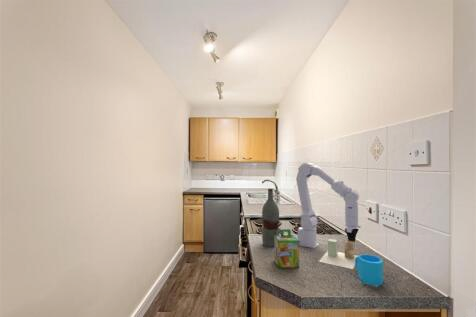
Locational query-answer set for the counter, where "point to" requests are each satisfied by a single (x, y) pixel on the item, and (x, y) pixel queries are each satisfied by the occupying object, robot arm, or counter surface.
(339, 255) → the mat
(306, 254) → the counter surface
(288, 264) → the chalk box
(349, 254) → the oak block
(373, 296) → the counter surface
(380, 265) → the mug
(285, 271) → the counter surface
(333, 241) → the sage block
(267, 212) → the bottle
